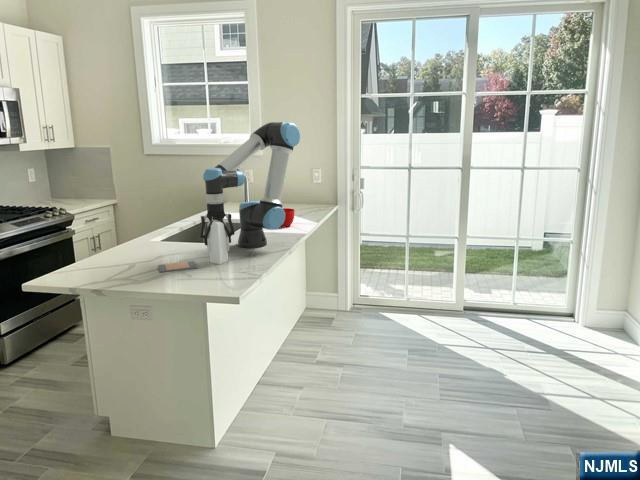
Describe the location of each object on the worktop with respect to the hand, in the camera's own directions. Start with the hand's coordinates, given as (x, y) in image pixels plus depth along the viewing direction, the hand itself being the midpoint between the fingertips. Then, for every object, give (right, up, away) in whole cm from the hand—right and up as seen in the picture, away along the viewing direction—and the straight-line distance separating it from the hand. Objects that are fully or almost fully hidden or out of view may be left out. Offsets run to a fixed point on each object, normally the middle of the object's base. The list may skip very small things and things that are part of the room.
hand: (218, 250), depth 234 cm
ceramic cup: (+25, +14, +79) cm, 84 cm away
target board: (-17, -7, -6) cm, 20 cm away
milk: (0, -5, +1) cm, 6 cm away
